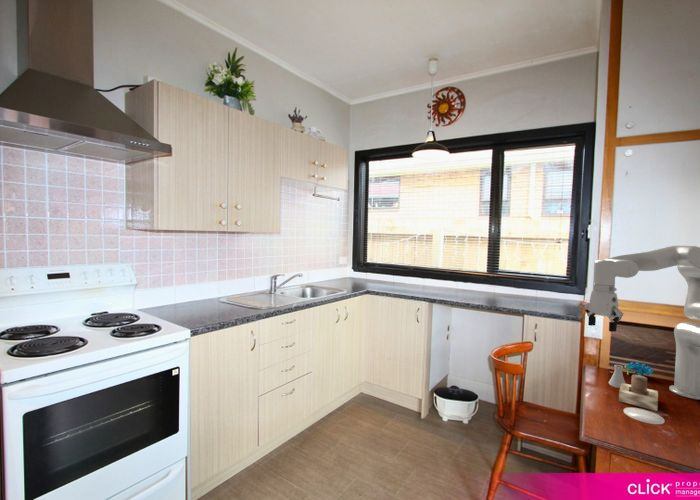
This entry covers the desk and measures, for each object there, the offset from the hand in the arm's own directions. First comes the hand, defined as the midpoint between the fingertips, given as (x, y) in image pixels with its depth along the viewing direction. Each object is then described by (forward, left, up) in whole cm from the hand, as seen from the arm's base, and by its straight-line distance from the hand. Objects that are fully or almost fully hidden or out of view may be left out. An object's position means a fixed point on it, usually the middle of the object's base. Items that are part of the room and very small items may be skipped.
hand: (601, 328), depth 150 cm
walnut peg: (-12, +7, -29) cm, 32 cm away
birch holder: (-12, +7, -30) cm, 33 cm away
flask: (-16, -8, -30) cm, 35 cm away
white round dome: (-3, +19, -30) cm, 35 cm away
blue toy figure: (-38, -21, -30) cm, 53 cm away
